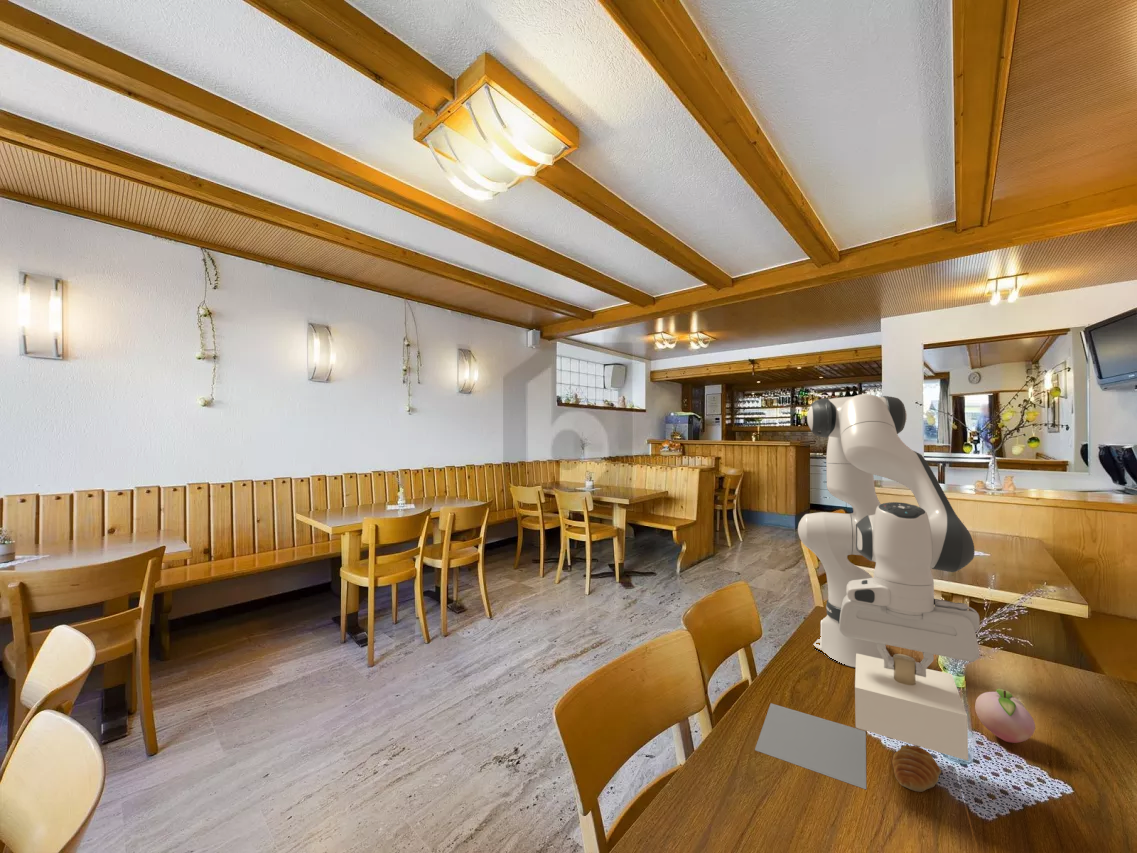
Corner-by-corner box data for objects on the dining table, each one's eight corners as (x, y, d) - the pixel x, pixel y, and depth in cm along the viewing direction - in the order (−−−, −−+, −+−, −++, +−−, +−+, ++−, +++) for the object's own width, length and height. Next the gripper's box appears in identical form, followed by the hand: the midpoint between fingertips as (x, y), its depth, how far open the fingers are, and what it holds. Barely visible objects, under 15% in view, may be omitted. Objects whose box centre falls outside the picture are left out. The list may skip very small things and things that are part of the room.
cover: (856, 688, 92) (855, 633, 93) (952, 712, 84) (951, 652, 84) (855, 727, 80) (854, 664, 80) (968, 760, 72) (966, 689, 72)
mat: (770, 704, 103) (770, 703, 103) (865, 733, 93) (865, 731, 93) (754, 752, 88) (754, 749, 88) (866, 791, 78) (866, 789, 78)
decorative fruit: (969, 721, 96) (968, 674, 97) (1021, 733, 93) (1020, 684, 93) (984, 748, 88) (983, 696, 88) (1042, 763, 84) (1041, 708, 84)
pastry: (934, 804, 75) (933, 781, 75) (885, 782, 80) (884, 760, 80) (942, 774, 82) (941, 753, 82) (896, 756, 87) (896, 736, 87)
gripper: (975, 600, 80) (977, 680, 79) (839, 580, 91) (840, 650, 90) (983, 611, 74) (985, 697, 74) (837, 589, 85) (838, 663, 85)
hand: (904, 671), depth 82 cm, fingers closed on cover, 3 cm apart
